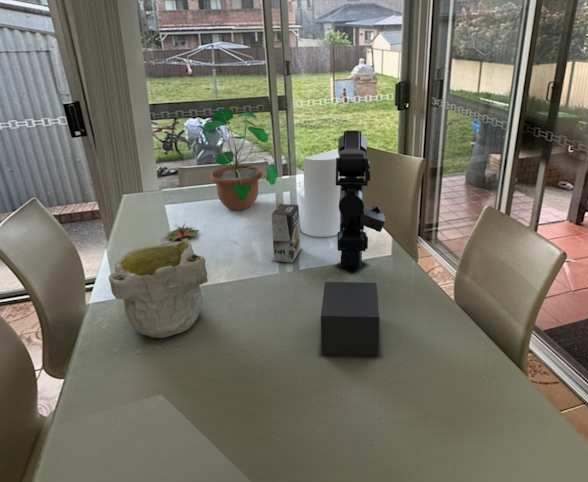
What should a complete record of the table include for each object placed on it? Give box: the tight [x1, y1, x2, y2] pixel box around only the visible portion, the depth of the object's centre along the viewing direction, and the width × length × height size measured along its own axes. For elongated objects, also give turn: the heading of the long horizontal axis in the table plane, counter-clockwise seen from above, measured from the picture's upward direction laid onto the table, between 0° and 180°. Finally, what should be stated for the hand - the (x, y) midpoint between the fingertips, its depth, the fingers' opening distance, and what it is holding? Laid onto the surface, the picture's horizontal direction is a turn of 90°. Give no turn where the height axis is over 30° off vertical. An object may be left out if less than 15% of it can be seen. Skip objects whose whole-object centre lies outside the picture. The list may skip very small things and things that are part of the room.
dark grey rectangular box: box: [320, 281, 380, 357], centre depth 103 cm, size 14×13×11 cm
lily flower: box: [163, 221, 201, 242], centre depth 155 cm, size 12×12×5 cm
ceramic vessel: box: [108, 239, 209, 339], centre depth 108 cm, size 23×24×25 cm
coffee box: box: [270, 203, 301, 264], centre depth 139 cm, size 9×6×16 cm
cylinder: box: [297, 148, 345, 238], centre depth 157 cm, size 17×17×28 cm
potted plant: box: [203, 108, 279, 211], centre depth 177 cm, size 31×29×40 cm
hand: (351, 256), depth 116 cm, fingers closed
